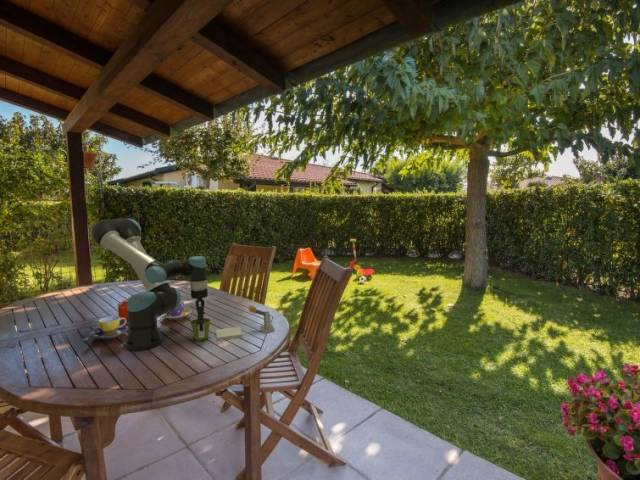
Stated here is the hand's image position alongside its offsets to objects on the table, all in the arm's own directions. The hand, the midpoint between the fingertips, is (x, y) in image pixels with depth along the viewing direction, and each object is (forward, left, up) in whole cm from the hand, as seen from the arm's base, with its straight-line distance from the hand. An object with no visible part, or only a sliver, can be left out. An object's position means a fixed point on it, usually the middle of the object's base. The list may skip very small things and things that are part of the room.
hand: (201, 332), depth 165 cm
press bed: (+13, 0, -3) cm, 13 cm away
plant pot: (0, 0, -3) cm, 3 cm away
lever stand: (+32, 0, -3) cm, 32 cm away
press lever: (+27, 0, +6) cm, 28 cm away
